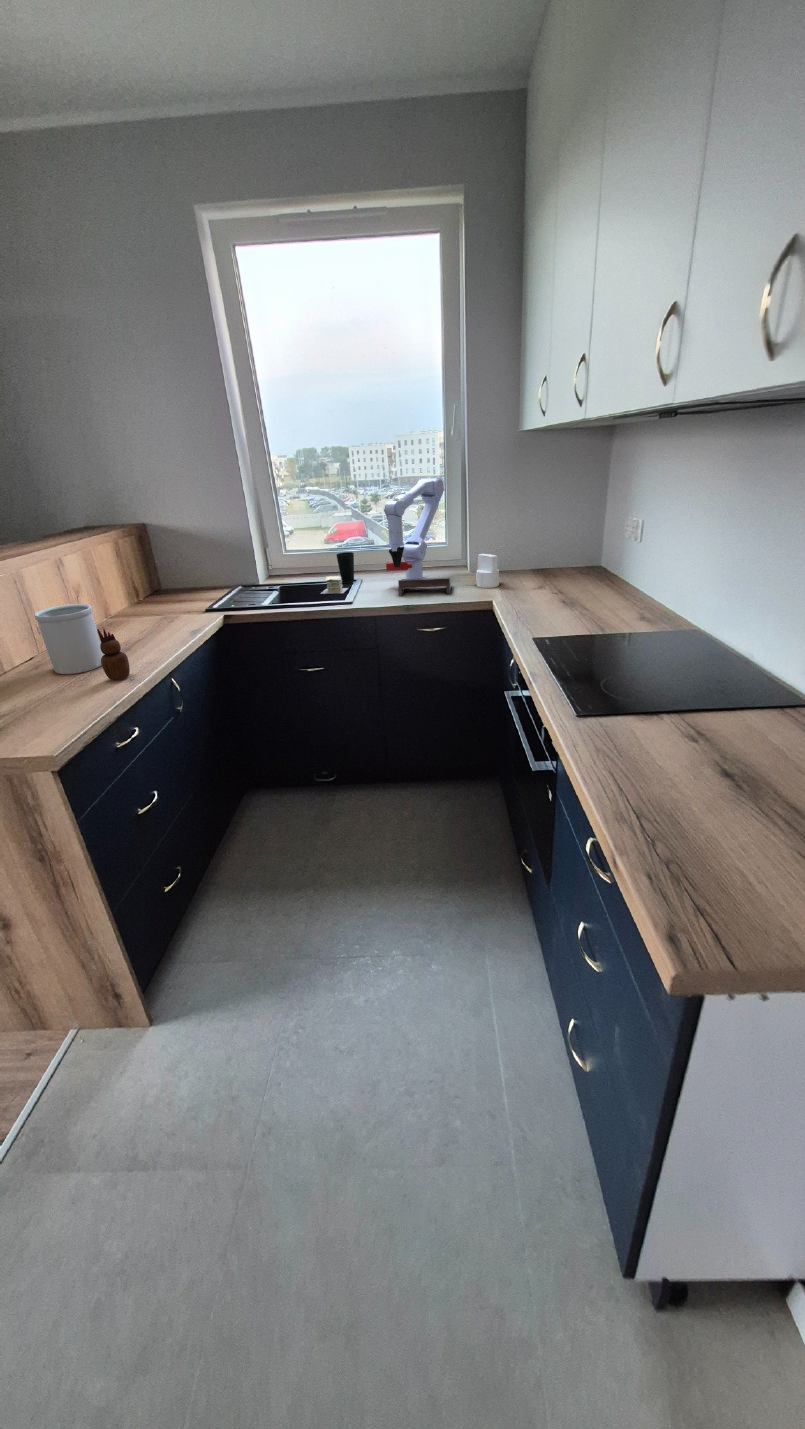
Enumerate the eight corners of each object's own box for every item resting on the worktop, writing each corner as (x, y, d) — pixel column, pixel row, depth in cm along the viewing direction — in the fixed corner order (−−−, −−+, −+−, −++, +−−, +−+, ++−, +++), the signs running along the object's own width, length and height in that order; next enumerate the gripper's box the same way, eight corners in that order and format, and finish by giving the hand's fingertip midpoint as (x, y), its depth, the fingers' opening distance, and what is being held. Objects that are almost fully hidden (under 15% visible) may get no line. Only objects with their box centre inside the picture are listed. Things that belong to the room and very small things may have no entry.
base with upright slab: (503, 584, 232) (503, 554, 227) (486, 588, 228) (486, 558, 223) (488, 581, 239) (488, 552, 234) (472, 585, 235) (471, 555, 230)
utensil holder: (98, 654, 183) (81, 600, 176) (115, 664, 173) (98, 607, 166) (47, 668, 174) (27, 611, 167) (62, 679, 164) (42, 619, 157)
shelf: (402, 588, 238) (401, 574, 236) (450, 586, 236) (450, 572, 233) (399, 595, 227) (398, 580, 225) (449, 593, 225) (449, 578, 222)
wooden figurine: (107, 684, 158) (91, 632, 152) (106, 678, 163) (90, 627, 156) (133, 679, 161) (118, 627, 154) (131, 673, 165) (117, 622, 159)
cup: (355, 582, 255) (352, 554, 250) (338, 583, 256) (335, 555, 251) (357, 578, 262) (354, 551, 257) (340, 579, 263) (337, 552, 258)
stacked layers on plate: (348, 588, 246) (347, 575, 243) (343, 593, 238) (341, 580, 235) (326, 588, 247) (324, 576, 245) (320, 593, 240) (318, 580, 237)
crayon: (387, 569, 241) (387, 562, 240) (412, 568, 240) (412, 561, 238) (386, 570, 238) (385, 563, 237) (411, 570, 237) (411, 562, 236)
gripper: (388, 530, 240) (390, 563, 246) (383, 535, 227) (385, 570, 232) (405, 529, 239) (406, 563, 245) (400, 534, 226) (402, 569, 232)
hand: (397, 566), depth 238 cm, fingers closed on crayon, 3 cm apart
